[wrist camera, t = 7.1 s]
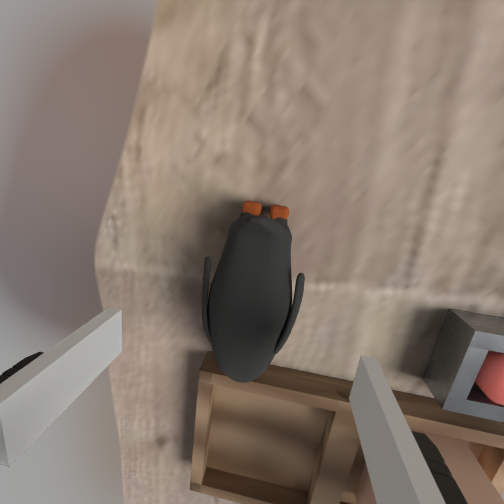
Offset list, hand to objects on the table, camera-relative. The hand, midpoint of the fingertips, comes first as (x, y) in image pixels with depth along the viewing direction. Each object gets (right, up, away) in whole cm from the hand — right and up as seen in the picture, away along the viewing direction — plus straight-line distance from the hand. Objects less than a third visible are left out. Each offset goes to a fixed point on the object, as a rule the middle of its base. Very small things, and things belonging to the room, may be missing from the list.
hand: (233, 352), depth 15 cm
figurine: (+1, +2, +10) cm, 10 cm away
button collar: (+20, -3, +8) cm, 22 cm away
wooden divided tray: (+9, -14, +13) cm, 21 cm away
